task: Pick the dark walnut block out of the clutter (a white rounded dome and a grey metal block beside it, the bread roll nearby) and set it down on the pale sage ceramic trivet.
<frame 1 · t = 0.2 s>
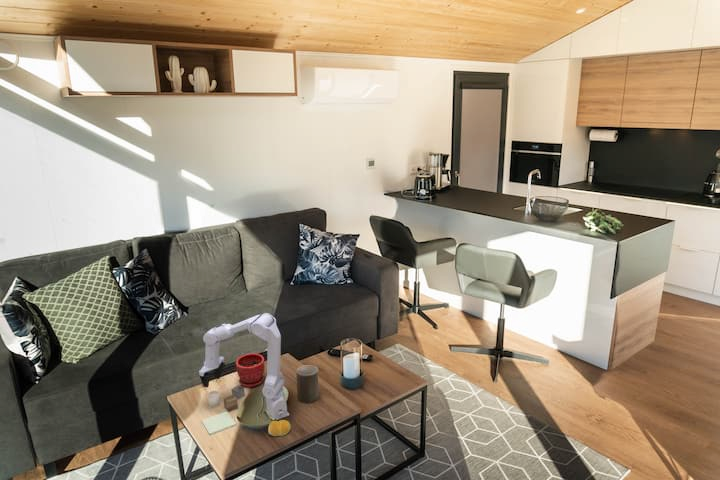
hand: (211, 382, 216), 10 cm above the table, tool pointing down, fingers open, 7 cm apart
white rounded dome: (214, 403, 218), on the table
trivet: (218, 423, 205), on the table
pillar candle: (308, 397, 222), on the table
plant pot: (251, 382, 235), on the table
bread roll: (279, 431, 200), on the table
walnut block: (231, 408, 215), on the table
grey metal block: (238, 396, 224), on the table
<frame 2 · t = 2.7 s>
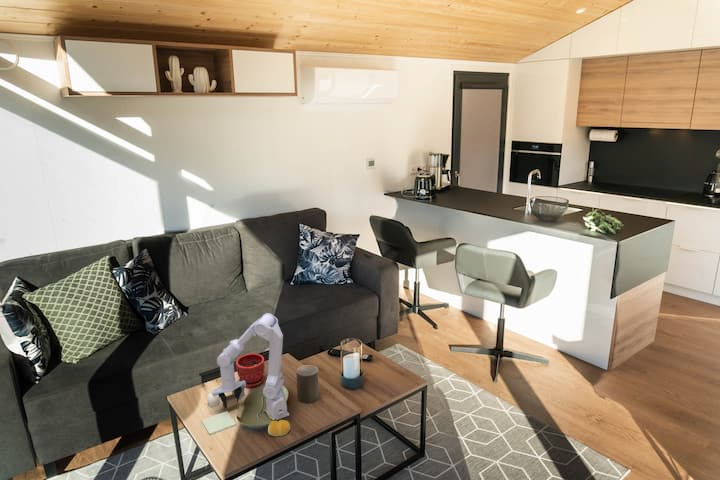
hand: (230, 405, 215), 1 cm above the table, tool pointing down, fingers closed on walnut block, 4 cm apart
walnut block: (231, 408, 215), on the table, touching gripper
everything else where it was.
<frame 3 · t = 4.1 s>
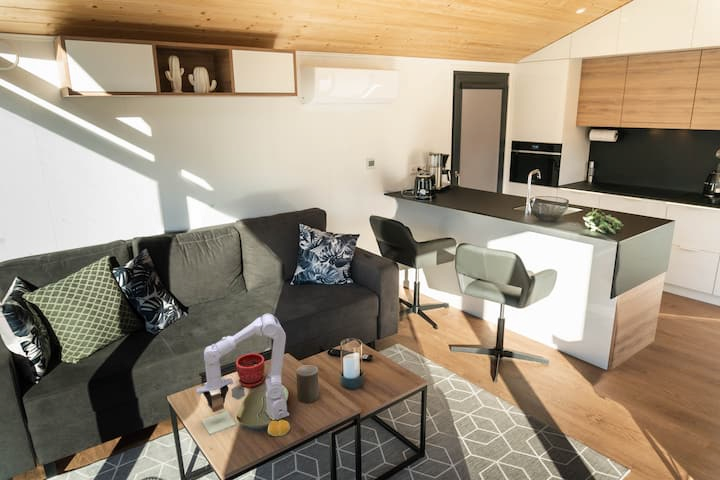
hand: (216, 404, 203), 9 cm above the table, tool pointing down, fingers closed on walnut block, 5 cm apart
walnut block: (217, 407, 203), point 7 cm above the table, touching gripper
everything else where it was.
when the fingers open (3 cm above the table, at t = 6.0 s): walnut block drops 1 cm, resting on trivet.
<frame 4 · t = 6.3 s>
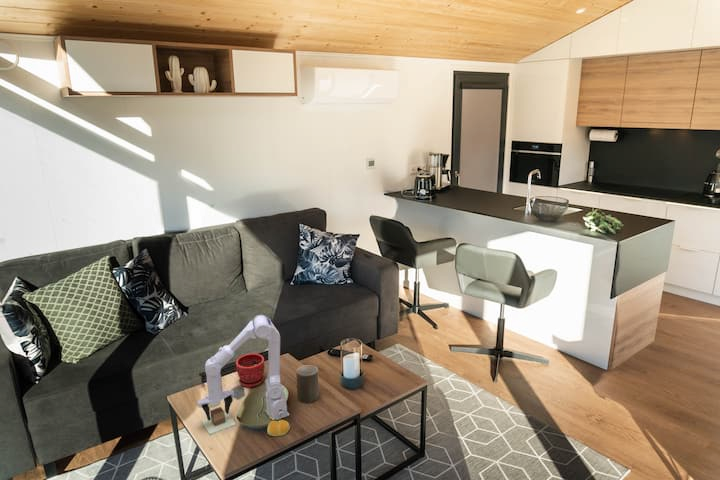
hand: (218, 416, 204), 3 cm above the table, tool pointing down, fingers open, 7 cm apart
walnut block: (218, 421, 205), point 1 cm above the table, touching trivet
everything else where it was.
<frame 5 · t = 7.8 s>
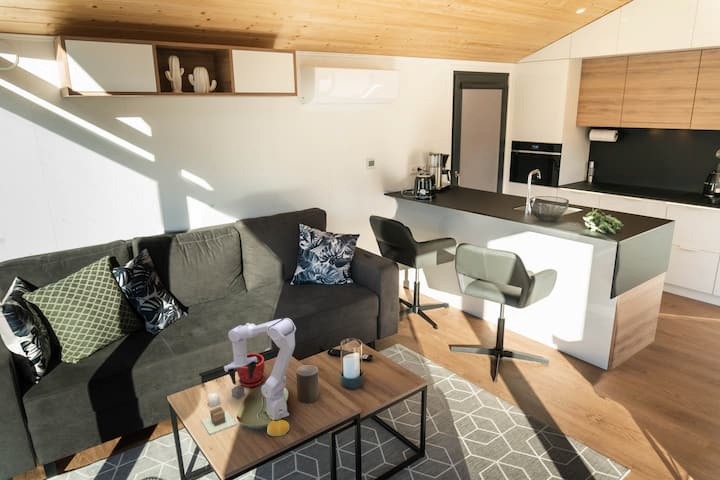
hand: (242, 380, 217), 10 cm above the table, tool pointing down, fingers open, 7 cm apart
nothing on the table moved.
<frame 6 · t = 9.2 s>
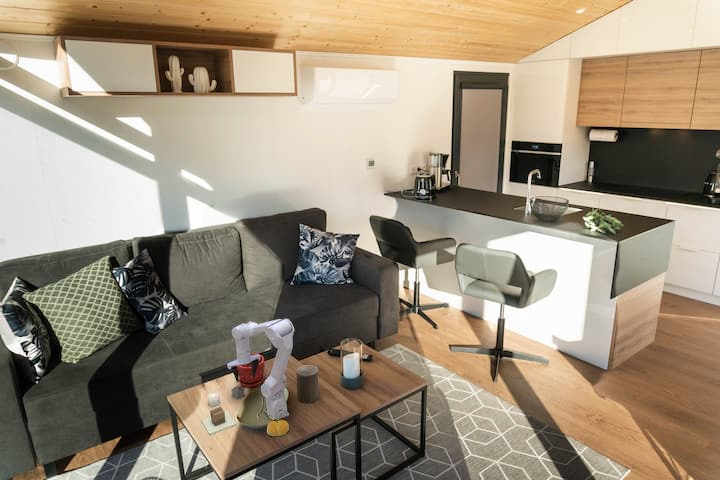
hand: (245, 378, 219), 10 cm above the table, tool pointing down, fingers open, 7 cm apart
nothing on the table moved.
at the end: walnut block inside the target area on the trivet (0.2 cm from its centre), point 0.6 cm above the trivet's base; walnut block tilted 0°; the gripper is holding nothing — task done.
